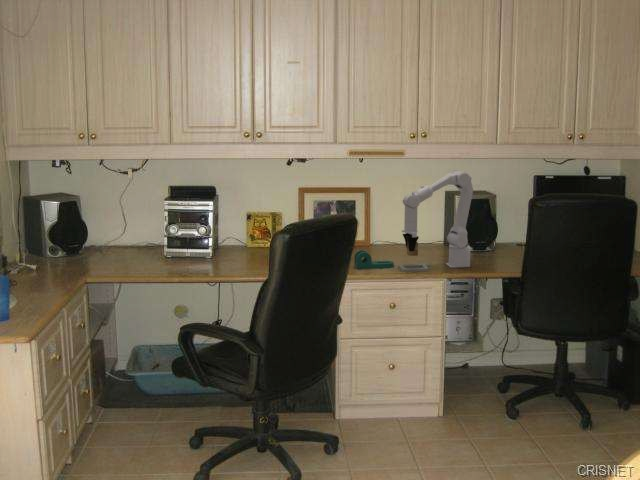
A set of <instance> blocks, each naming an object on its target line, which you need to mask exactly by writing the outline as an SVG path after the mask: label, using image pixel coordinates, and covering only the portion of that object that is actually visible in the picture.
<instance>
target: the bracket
mask: <svg viewBox="0 0 640 480" xmlns="http://www.w3.org/2000/svg"><path fill="white" fill-rule="evenodd" d="M353 259H354V260H353V261H354V262H353V263H354V264H353V266H354V268H355V269H356V270H371V269H372V270H373V269H374V270H376V269H377V270H378V269H393V268H394V266H395V264H394V263H395V262H394V261H392V260H373V258H372V256H371V254H369V253H368V252H367V250H364V249H359V250H357V251H355V253H354V257H353ZM372 260H373V261H372Z"/></svg>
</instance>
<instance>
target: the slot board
mask: <svg viewBox="0 0 640 480" xmlns="http://www.w3.org/2000/svg"><path fill="white" fill-rule="evenodd" d="M398 269H399V270H401V272H403V273H406V272H407V273H409V272H411V273H412V272H413V273H414V272H430V268H429V266H426V265H424V264H418V263H415V264H411V263H410V264H398Z"/></svg>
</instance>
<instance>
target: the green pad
mask: <svg viewBox="0 0 640 480" xmlns="http://www.w3.org/2000/svg"><path fill="white" fill-rule="evenodd" d="M417 264H424V265H426V266H427V267H430V266H431V263H429V262H418V263H417Z"/></svg>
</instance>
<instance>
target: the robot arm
mask: <svg viewBox="0 0 640 480" xmlns="http://www.w3.org/2000/svg"><path fill="white" fill-rule="evenodd" d="M448 185H449V186H451V185H452V186H455V187H456V188H457V189H458V191H459V192H460V194H459V198H458V204H457V209H456V214H455V218H454V224H453V226H451V228H450V230H449V233H448V235H447V237H446V241H447V242H448V244H449V245H448V262H446V263H445V265H446V266H448V267H449V268H453V269H454V268H471V249H470V247H469V246H467V244H468V242H469V240H468V231H467V223H468V218H469V213H470V212H469V211H470V208H471V204H472V203H471V202H472V198H473V194H474V188H473V184H472V176H470V174H469V173H467V172H465V171H459V170H452V171H451V172H448V173H446V174H445V175H444V176H442V177H441V178H440V179H438V180H437V181H435V182H433V183H432V184H430V185H426V184H425V185H420V188H418V189H416V190H413V191H411V193H408V194H405V195H404V197H403V199H402V203H403V205H404V222H403V223H404V228H403V229H401V232H402V237H403V239H404V242H405V246H406V249H407V241H408V247H409V251H414V249H415V245H416V242H418V240H419V238H420V237H419V236H418V208H419V206H420V204H421V203H423V202H424V201H427V200H428V199H430V198H431V197H432V196H433V193H435V192H436V191H439V190H441V189H442V188H444V187H446V186H448Z"/></svg>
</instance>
